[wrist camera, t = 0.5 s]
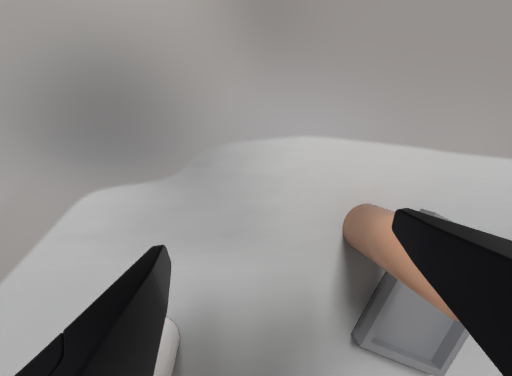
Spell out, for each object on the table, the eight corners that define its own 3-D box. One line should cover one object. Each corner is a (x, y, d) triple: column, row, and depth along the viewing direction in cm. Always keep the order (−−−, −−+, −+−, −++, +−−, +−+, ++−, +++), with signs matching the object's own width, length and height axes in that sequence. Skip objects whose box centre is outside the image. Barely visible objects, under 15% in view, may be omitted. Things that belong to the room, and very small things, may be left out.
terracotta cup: (372, 256, 28) (485, 334, 16) (334, 238, 27) (422, 306, 15) (394, 215, 28) (528, 263, 15) (357, 196, 27) (467, 229, 14)
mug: (189, 354, 27) (158, 508, 15) (131, 371, 26) (53, 546, 15) (164, 277, 25) (107, 383, 14) (102, 294, 25) (-13, 420, 13)
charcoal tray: (428, 364, 31) (442, 378, 29) (351, 333, 29) (359, 346, 27) (497, 250, 30) (516, 256, 28) (421, 208, 28) (435, 212, 26)
